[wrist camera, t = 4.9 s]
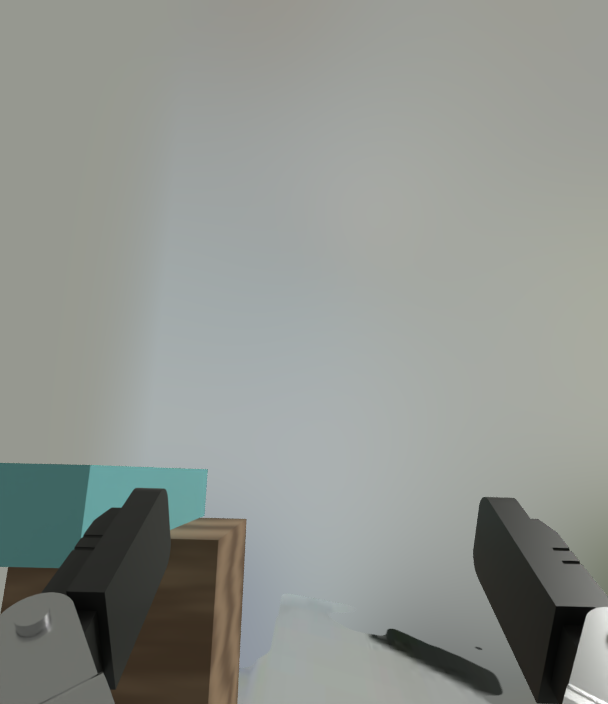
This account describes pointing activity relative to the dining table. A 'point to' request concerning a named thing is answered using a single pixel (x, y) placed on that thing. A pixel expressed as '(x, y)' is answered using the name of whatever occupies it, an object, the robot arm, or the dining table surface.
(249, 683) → the dining table surface
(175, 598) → the wooden block
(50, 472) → the batten
